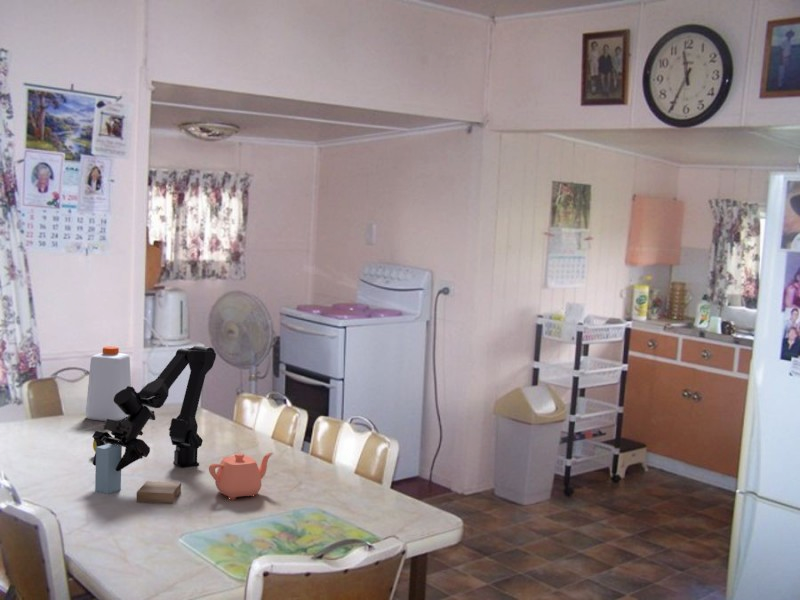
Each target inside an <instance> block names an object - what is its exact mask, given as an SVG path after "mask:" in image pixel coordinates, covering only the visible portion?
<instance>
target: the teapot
mask: <svg viewBox="0 0 800 600" xmlns="http://www.w3.org/2000/svg"><path fill="white" fill-rule="evenodd" d="M273 454H274V452H269V453H266V454H265V455H264V456H263V458H262V460H261V464H260V466H258V463H257V462H256V461H257V460H255V458H253V457H252V456H249V455H245V453H242V452H240V453H239V452H238V453H234V455H229V456H225V457H223V458H222V460H221V461H220V463H211V464H210V465H209V466H208V472H209V474H210V475H211V477H212V478H213V480H215V481H214V482H215V487H216V489H217V490H218V491H219V492H220V494H222V495H224V496H225V497H227V499H228V498H230V499H235V498H236V499H237V497H238V498H239V497H247V496H253V495H257V494H258V493H259V492H260V490H261V488H262V479H263V478H264V477H265V476H266V473H267V468H268V467H267V466H268V461H269V459H270V457H271V456H272V455H273ZM216 469H217V470H216ZM236 499H235V500H236Z"/></svg>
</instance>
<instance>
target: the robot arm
mask: <svg viewBox="0 0 800 600" xmlns="http://www.w3.org/2000/svg"><path fill="white" fill-rule="evenodd" d="M216 357H217V353H216V350H215V349H214V348H213V347H210V346H209V347H208V346H203V345H194V346H193V347H190V348H189V347H186V348H178V349H177V350H176V352H175V355H174V356H173V357H172V359H170V361H169V363H168V364H167V365H166V366H165V368H163V370H162V372H161V373H160V374H159V375H158V377H156V379H154V380H152V381H151V382H148V383H147V384H146V385H144V387H142V389H140V391H138V392H137V391H136V389H135V388H134V387H133V386H131V387H130V386H127V388H126V389H123V390H121V391H120V392H118V393H117V394H116V395H115V397H114V402H115V404H116V405H117V406H118V407H119V408H120V409H121V410H122V411H123V412H124V414H126V415H128V417H127V418H125V419H122V420H120V421H115V420H111V419H107V420H106V421H104V425H103V429H102V430H101V429H98V430H95V432H94V433H93V435H92V438H93V441H95V442H96V444H97V447H98V446H102V445H106V444H114V445H118V446H122V448H125V449H124V450H125V451H124V453H123V455H122V457H121V460H120V462H119V463H118V465H117V467H116V469H115V470H116V471H120V470H121V471H122V470H123V469H125V468H126V467H128V466H129V465H131V464H133V463H135V462H136V461H138V460H140V459H141V460H142V459H143V457H144V458H147V457H148V455H149V454H150V452H151V448H150V446H149V445H148V444H147V443H146V442H145V441H144V440H143V439H142V438H138V436H143V435H144V432H143V429H144V428H145V426H146V424H147V423H148V421H149V420H152V421H155V420H156V415H155V411H154V410H150V408H154V409H161V407H163V406H164V404H165V402H166V401H167V398H168V397H169V391H170V388H171V387H172V386H173V384H174V383H175V382H176V380H177V379H178V377H179V376H181V374H182V372H184V371H185V369H186V367H187V366H188V367H189V370H190V373H189V377H188V380H187V385H186V388H185V393H184V396H183V401H182V405H181V409H180V413H179V415H178V416H177V417H176V418H175V417H172V418H171V421H170V426H169V428H168V431H169V432H168V436H169V438H170V441H171V445H172V446H175V450H174V455H173V459H174V460H173V464H175V465H176V466H177V467H180V468H186V467H194V466H199V465H200V462H198V451H199V450H198V449H199V448H201V447H202V445H203V438H202V437H201V436H200V434H198V429H199V428H198V423H197V419H196V416H197V415H196V414H197V411H198V408H199V403H200V399H201V395H202V392H203V387H204V383H205V380H206V379H205V378H206V375H207V373H208V372H210V370H212V368H213V366H214V364H215V362H216ZM108 431H110V433H109V432H108ZM113 436H114V437H113ZM92 465H93V466H95V467H96V452H95V453H94V457H93V461H92Z"/></svg>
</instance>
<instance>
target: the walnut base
mask: <svg viewBox="0 0 800 600" xmlns="http://www.w3.org/2000/svg"><path fill="white" fill-rule="evenodd" d="M181 488H182V482H173V481H171V482H170V481H152V480H151V481H150V480H147V481H145V482H144V484H143V485H142V486H141V487H140V488H139V489H138V490H137V491H136V500H135V501H136V503H137V502H139V503H142V502H144V503H142V504H159V503H164V504H165V505H172V504H173V503H174V502H175V501H176V499H177V498H178V497H179V495H180V494H181V493H182V492H181V490H182V489H181ZM164 504H163V505H164Z"/></svg>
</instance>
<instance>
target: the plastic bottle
mask: <svg viewBox="0 0 800 600" xmlns="http://www.w3.org/2000/svg"><path fill="white" fill-rule="evenodd" d="M119 350H120V348H119V347H117V346H112V345H111V346H103V348H102V352H100V353H96V354H94V355H92V356H91V357H90V364H89V365H90V366H89V373H88V385H87V393H86V395H87V397H86V406H85V418H86V419H88V420H91V421H101V422H106V420H107V419H111V420H115V421H119V422H120V421H121V420H125V419H126V417H128V415H126V414H124V412H123V411H122V410H121V409H120V408H119V407H118V406H117V405H116V404H115V402H114V397H115V395H116V394H117V393H118V392H120V391H121V390H123V389H126V388H127V386H130V387H132V382H131V381H132V378H131V377H132V376H131V358H130V355H129V354H128V353H123V352H122V353H120V351H119Z"/></svg>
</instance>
